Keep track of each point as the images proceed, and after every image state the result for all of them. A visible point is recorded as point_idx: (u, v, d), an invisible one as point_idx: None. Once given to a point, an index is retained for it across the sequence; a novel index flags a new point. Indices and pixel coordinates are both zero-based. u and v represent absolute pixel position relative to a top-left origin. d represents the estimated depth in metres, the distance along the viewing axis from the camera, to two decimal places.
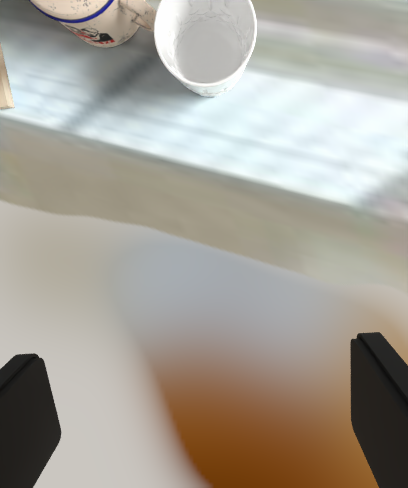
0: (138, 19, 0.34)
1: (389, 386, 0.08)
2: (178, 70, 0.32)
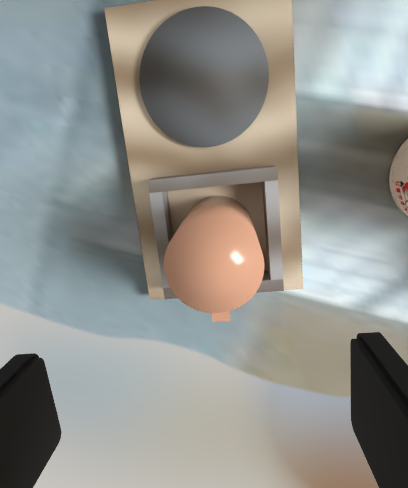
0: None
1: (389, 386, 0.08)
2: None
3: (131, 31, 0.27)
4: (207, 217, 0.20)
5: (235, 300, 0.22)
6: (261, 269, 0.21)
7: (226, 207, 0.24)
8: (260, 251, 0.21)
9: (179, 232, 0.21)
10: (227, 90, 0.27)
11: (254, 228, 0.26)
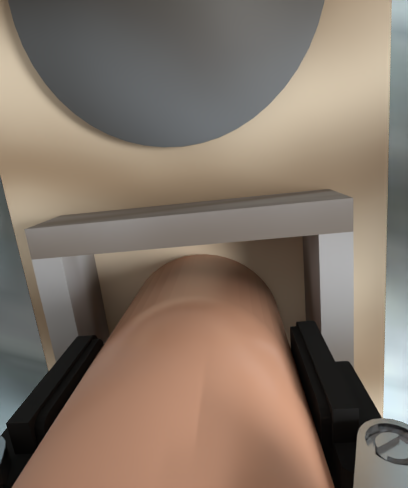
0: None
1: (308, 365, 0.09)
2: None
3: None
4: None
5: None
6: None
7: (218, 332, 0.08)
8: None
9: None
10: (222, 4, 0.11)
11: (296, 367, 0.10)
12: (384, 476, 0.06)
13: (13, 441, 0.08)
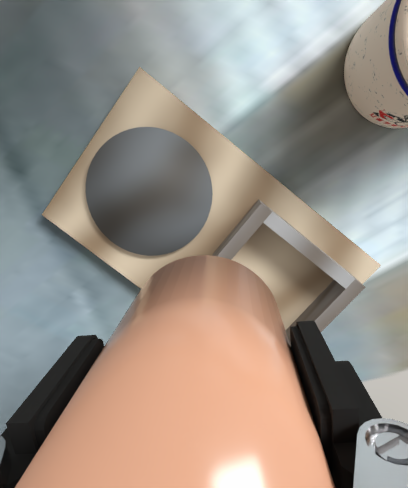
0: None
1: (308, 365, 0.09)
2: None
3: (72, 211, 0.29)
4: None
5: None
6: None
7: (219, 333, 0.08)
8: None
9: None
10: (171, 183, 0.27)
11: None
12: (384, 476, 0.06)
13: (13, 441, 0.08)
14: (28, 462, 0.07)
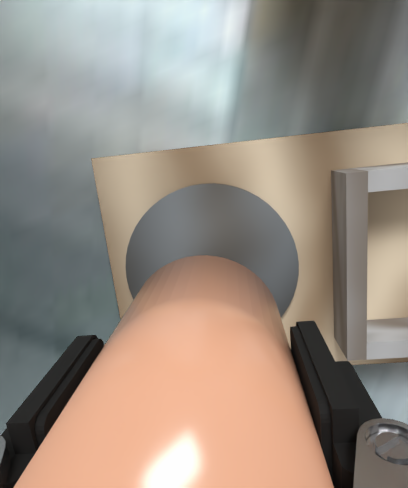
0: None
1: (308, 365, 0.09)
2: None
3: None
4: None
5: None
6: None
7: (218, 333, 0.08)
8: None
9: None
10: (224, 240, 0.20)
11: (296, 368, 0.10)
12: (384, 476, 0.06)
13: (13, 441, 0.08)
14: (28, 462, 0.07)
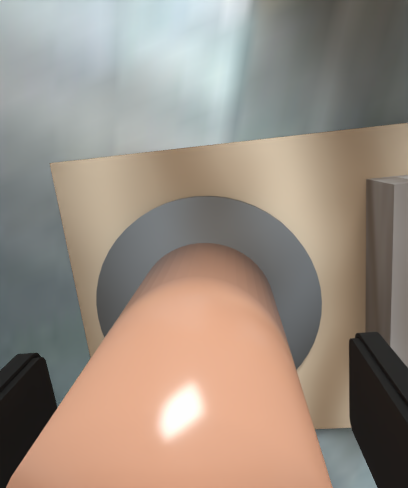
0: None
1: (387, 385, 0.08)
2: None
3: None
4: (140, 405, 0.05)
5: None
6: None
7: (218, 301, 0.09)
8: None
9: (40, 453, 0.06)
10: None
11: None
12: None
13: None
14: None
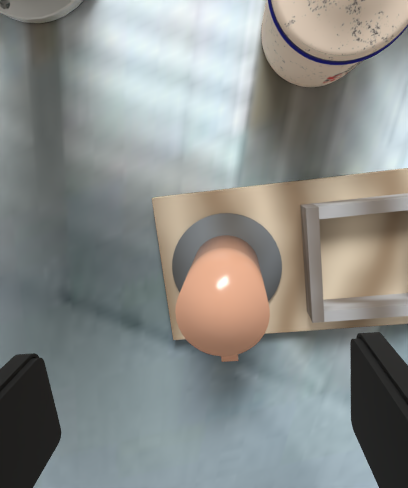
0: None
1: (389, 386, 0.08)
2: None
3: None
4: (215, 268, 0.22)
5: (243, 344, 0.23)
6: (267, 316, 0.22)
7: (233, 252, 0.26)
8: (265, 299, 0.22)
9: (189, 282, 0.22)
10: None
11: (260, 270, 0.27)
12: None
13: None
14: None
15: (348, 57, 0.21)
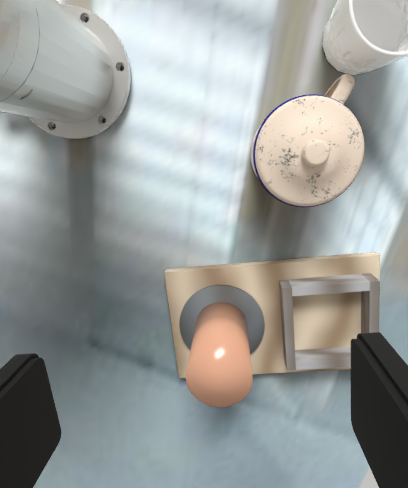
0: None
1: (389, 386, 0.08)
2: None
3: None
4: (215, 348, 0.31)
5: (233, 399, 0.32)
6: (250, 380, 0.32)
7: (227, 327, 0.35)
8: (249, 369, 0.31)
9: (196, 357, 0.31)
10: None
11: (247, 336, 0.37)
12: None
13: None
14: None
15: (309, 205, 0.30)
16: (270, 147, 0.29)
